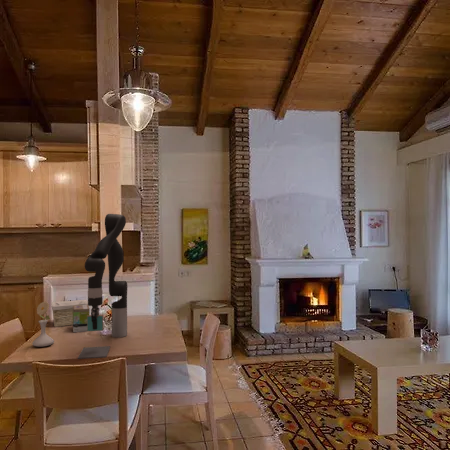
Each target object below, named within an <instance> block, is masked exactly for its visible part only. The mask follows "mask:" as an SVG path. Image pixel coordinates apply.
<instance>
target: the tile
mask: <svg viewBox="0 0 450 450" xmlns="http://www.w3.org/2000/svg"><path fill="white" fill-rule="evenodd" d="M93 320H95V319H93ZM99 331H101V332H102V331H104V314H99V315H98V318H97V329H96V330H93V323H92V319H91V314H89V315H88V316H87V331H86V332H99Z"/></svg>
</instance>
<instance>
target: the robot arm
mask: <svg viewBox="0 0 450 450" xmlns="http://www.w3.org/2000/svg"><path fill="white" fill-rule="evenodd" d="M126 224H127V220H126V217H125V215H124V214H117V213H106V215H105V217H104V228H105V236H104V237H103V238H102V239H100V240H99V242H98V244H97V246H95V249H94V251H93V252H92V253H91V254H90V255H89V256H88V257H87V258H86V260H85V262H84V269H85V271H87V272H91V273H94V272H95V274H94V275H92V276H89V277H88V279H87V280H88V281H87V282H88V283H87V301H88V306H89V307H92V308H91V309H90V315H91V319H92V323H93V330H96V329H97V318H98V315H100V307H99V306H102V305H103V301H104V300H103V277H104V273H105V270H106V262H105V260H104V259H106V258H107V266H108V293H109V295H110V297H121V298H120V299H118V300H115V301H113V302H112V303H111V337H112V338H124V337H127V336H128V283H127V282H128V281H126V280H115V278H116V275H117V274H118V271H119V270H120V268H121V267H122V265H124V261H125V258H124V257H125V256H124V255H125V254H124V253H125V252H124V249H123V246H122V245H121V243H120V242H119V239H118V237H119V236H120V234H122V232H123V230H124V229H125V227H126ZM93 319H95V320H93Z"/></svg>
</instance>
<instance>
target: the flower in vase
mask: <svg viewBox="0 0 450 450" xmlns="http://www.w3.org/2000/svg"><path fill="white" fill-rule="evenodd" d="M49 307H50V304H49V302H47V301H42V302H40V303H39V304H38V305H37V308H36V314H37V315H38V316H39V317H40V318H41V320H38V323H39V325H40V334H39V336H37V337H36V338H35V339H34V340H33V341H32V343H31V345H32V346H33V347H37V348H38V347H39V348H40V347H41V348H42V347H47V346H50V345H53V344H54V343H55V339H53V338H52V337H51V336H50V335H48V334H47V333H46V332H47V331H46V327H47V323H48V321H49V320H51V317H50V315H47V312H48V311H49ZM43 315H45V316H43Z"/></svg>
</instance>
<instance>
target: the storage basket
mask: <svg viewBox="0 0 450 450" xmlns="http://www.w3.org/2000/svg"><path fill="white" fill-rule="evenodd" d="M77 305H88V299H79V300H77V299H76V300H65V301H64V300H63V301H53V302H51V305H50V306H51V310H52V317H53V318H52V319H53V326H54V328H60V327H69V326H73V306H77Z"/></svg>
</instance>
